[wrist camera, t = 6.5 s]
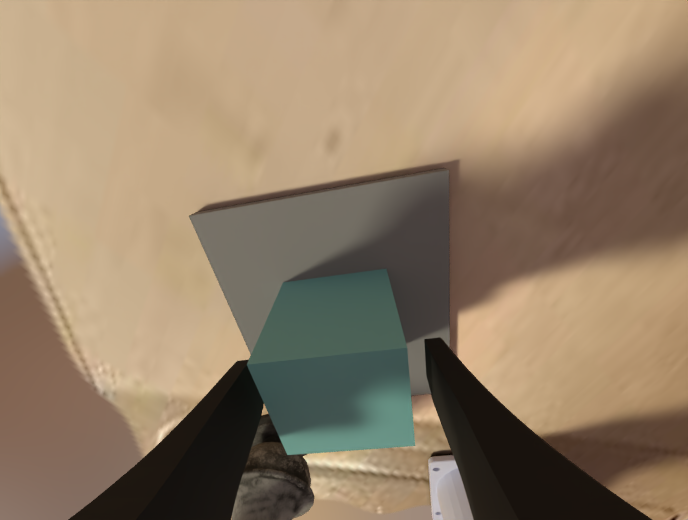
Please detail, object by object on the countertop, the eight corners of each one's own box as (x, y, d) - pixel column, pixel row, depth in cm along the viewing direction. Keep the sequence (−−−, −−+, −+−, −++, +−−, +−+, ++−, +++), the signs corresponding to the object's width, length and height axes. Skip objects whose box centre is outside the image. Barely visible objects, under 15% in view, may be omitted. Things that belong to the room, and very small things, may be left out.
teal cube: (394, 348, 14) (414, 445, 10) (306, 357, 15) (287, 455, 10) (386, 268, 12) (407, 347, 8) (283, 282, 13) (246, 364, 8)
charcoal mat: (446, 383, 16) (449, 391, 16) (277, 400, 18) (275, 409, 17) (444, 167, 11) (449, 170, 10) (195, 212, 12) (188, 216, 11)
